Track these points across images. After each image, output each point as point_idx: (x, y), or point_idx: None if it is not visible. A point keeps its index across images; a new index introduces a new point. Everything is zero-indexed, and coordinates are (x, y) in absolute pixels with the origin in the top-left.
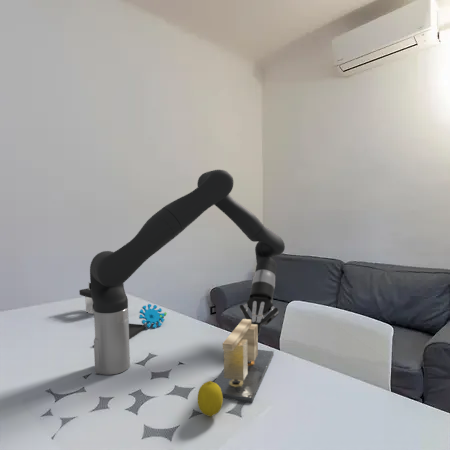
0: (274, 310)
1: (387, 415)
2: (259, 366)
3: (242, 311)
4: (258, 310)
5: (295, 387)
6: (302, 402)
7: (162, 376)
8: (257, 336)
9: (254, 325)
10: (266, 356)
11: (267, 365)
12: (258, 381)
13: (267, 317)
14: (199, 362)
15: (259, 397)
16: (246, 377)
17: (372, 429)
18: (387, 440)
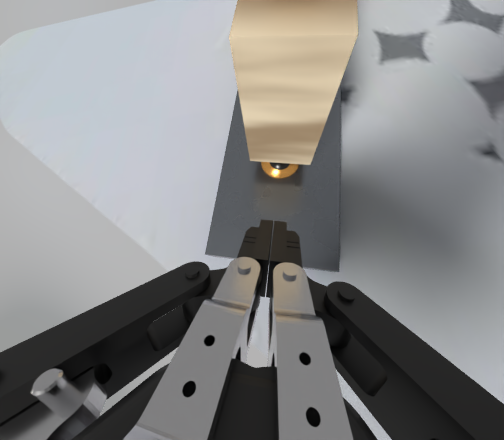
0: (19, 362)
1: (43, 67)
2: (244, 147)
3: (481, 389)
4: (244, 390)
5: (167, 106)
6: (162, 67)
7: (488, 82)
8: (241, 102)
9: (248, 20)
10: (228, 211)
11: (224, 162)
12: None
13: (161, 285)
14: (433, 167)
15: None
16: None
17: (80, 37)
18: (72, 25)
